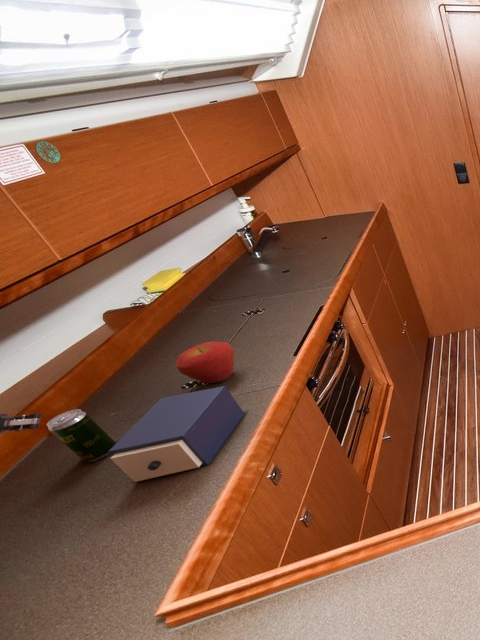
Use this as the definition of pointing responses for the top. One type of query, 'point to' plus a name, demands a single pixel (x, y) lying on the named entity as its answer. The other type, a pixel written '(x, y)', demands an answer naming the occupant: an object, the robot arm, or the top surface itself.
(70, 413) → the beer can
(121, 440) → the cabinet
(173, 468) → the drawer
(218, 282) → the top surface
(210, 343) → the apple
